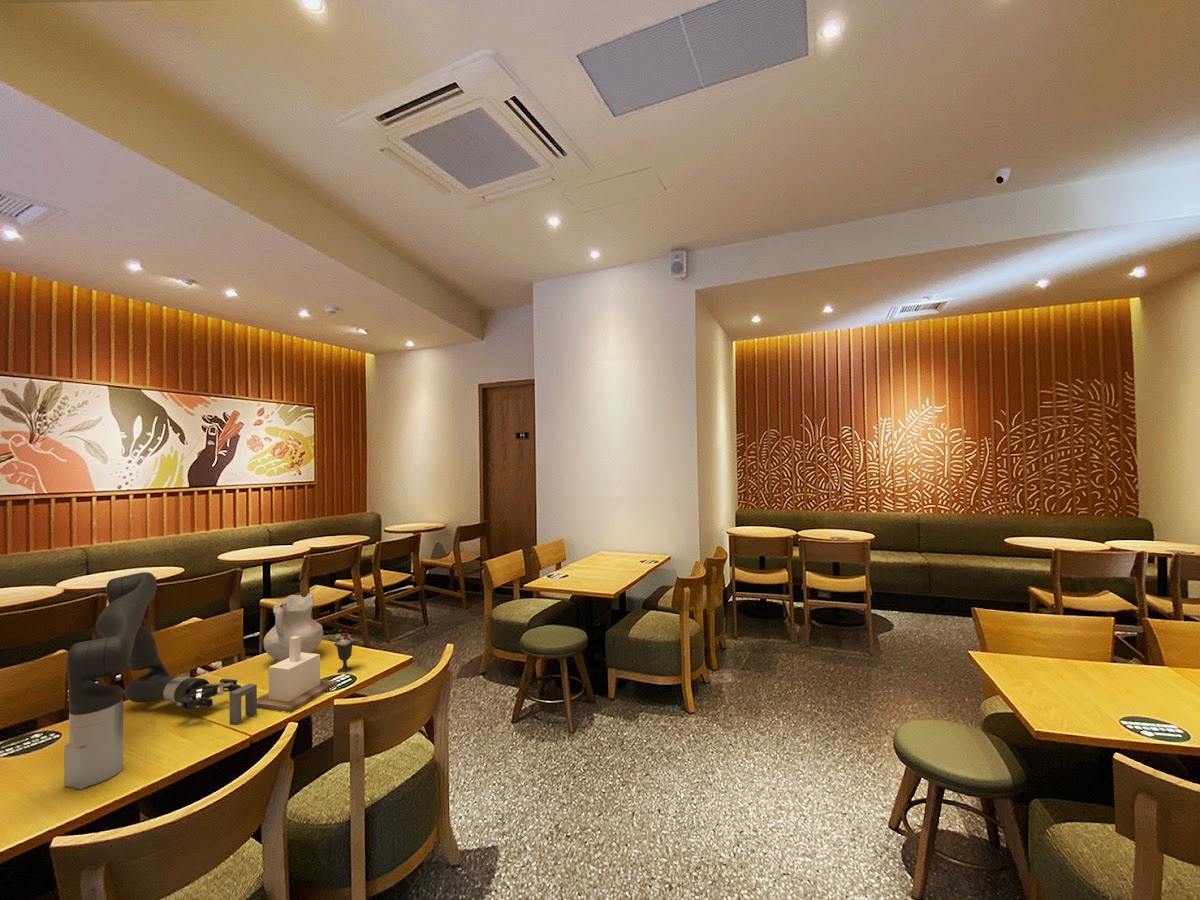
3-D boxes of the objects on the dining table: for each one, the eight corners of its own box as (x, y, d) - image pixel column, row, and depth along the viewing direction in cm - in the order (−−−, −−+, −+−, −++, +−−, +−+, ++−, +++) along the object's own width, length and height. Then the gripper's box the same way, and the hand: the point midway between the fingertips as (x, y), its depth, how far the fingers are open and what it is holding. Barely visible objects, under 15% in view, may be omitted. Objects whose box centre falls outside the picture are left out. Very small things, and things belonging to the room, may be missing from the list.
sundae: (346, 674, 173) (346, 632, 173) (330, 673, 174) (330, 631, 174) (359, 666, 179) (358, 626, 179) (343, 665, 180) (343, 625, 181)
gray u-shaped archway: (237, 724, 140) (237, 693, 141) (229, 723, 141) (229, 692, 141) (256, 714, 146) (256, 684, 146) (249, 713, 147) (249, 683, 147)
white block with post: (288, 701, 151) (288, 645, 151) (268, 698, 153) (268, 643, 153) (320, 684, 162) (319, 631, 163) (301, 681, 164) (300, 630, 165)
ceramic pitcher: (315, 671, 178) (320, 603, 180) (252, 677, 171) (258, 606, 173) (324, 650, 198) (329, 589, 200) (268, 654, 191) (274, 591, 193)
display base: (290, 712, 147) (290, 707, 147) (249, 706, 151) (249, 702, 151) (337, 685, 164) (337, 681, 164) (299, 681, 168) (299, 676, 168)
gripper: (160, 689, 143) (201, 694, 139) (210, 668, 157) (248, 673, 153) (160, 714, 143) (201, 721, 139) (210, 691, 157) (248, 697, 152)
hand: (226, 696), depth 146 cm, fingers open, 8 cm apart
